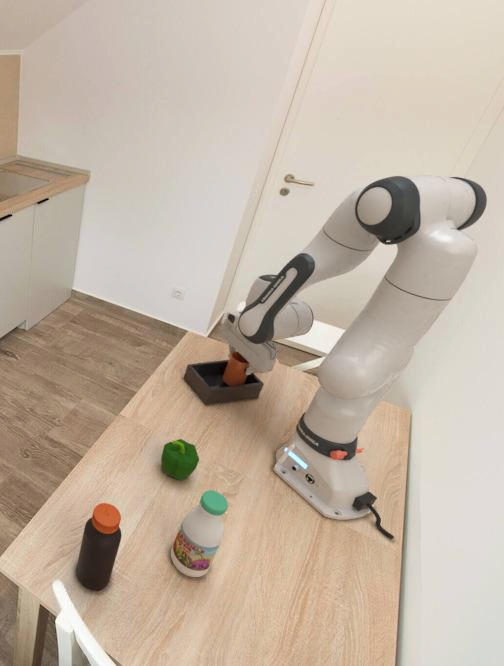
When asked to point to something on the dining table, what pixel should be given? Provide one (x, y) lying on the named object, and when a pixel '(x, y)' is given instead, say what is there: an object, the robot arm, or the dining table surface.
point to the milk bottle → (200, 535)
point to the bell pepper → (179, 459)
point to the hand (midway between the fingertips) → (239, 365)
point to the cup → (235, 370)
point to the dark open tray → (219, 383)
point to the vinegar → (99, 547)
